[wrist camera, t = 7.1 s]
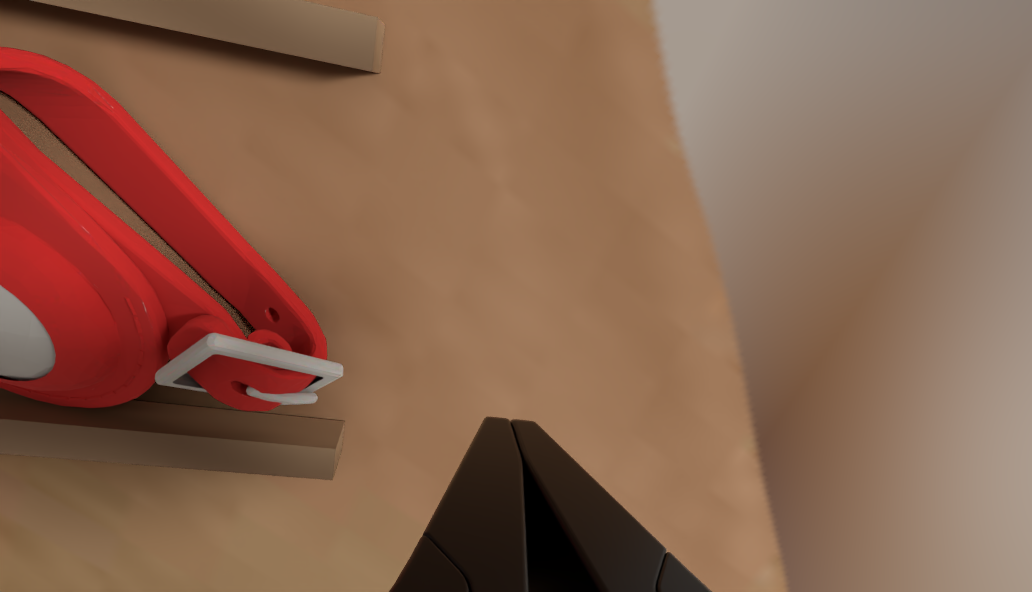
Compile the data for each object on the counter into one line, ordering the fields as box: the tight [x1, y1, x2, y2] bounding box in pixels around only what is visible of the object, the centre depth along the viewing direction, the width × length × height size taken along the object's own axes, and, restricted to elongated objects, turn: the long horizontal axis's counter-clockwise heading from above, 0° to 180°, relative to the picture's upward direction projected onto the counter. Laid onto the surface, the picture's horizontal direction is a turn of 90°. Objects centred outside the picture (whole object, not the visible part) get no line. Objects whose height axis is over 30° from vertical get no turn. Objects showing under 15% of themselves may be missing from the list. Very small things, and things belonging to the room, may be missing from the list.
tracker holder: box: [0, 47, 343, 411], centre depth 14 cm, size 12×4×10 cm
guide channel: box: [0, 0, 385, 480], centre depth 13 cm, size 13×17×3 cm
